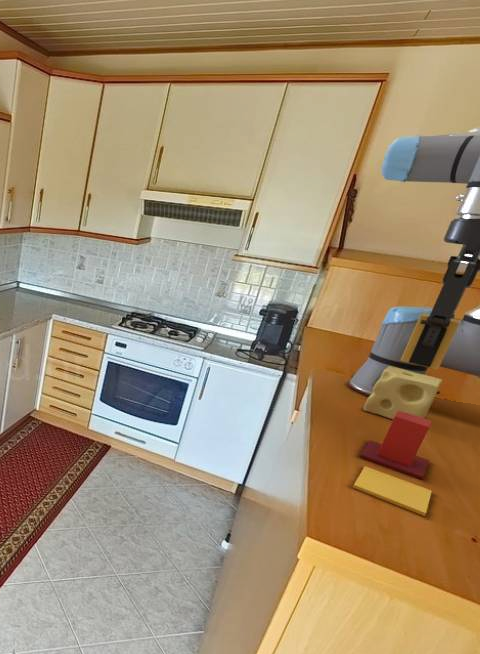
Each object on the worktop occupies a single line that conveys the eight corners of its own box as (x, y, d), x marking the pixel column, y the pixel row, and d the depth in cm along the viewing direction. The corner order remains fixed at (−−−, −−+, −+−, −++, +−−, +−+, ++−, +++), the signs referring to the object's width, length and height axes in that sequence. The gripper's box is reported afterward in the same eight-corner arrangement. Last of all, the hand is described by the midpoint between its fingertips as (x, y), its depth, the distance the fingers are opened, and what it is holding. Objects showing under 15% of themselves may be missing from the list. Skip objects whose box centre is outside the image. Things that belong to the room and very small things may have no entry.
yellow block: (404, 356, 86) (423, 312, 83) (439, 365, 83) (461, 319, 80) (400, 360, 83) (420, 315, 80) (437, 369, 80) (459, 322, 77)
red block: (381, 447, 93) (398, 410, 91) (413, 458, 90) (431, 420, 88) (377, 455, 90) (394, 416, 87) (410, 466, 87) (429, 426, 84)
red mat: (368, 442, 97) (369, 439, 97) (427, 462, 91) (429, 459, 91) (359, 457, 90) (360, 454, 90) (422, 479, 84) (423, 477, 84)
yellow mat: (363, 468, 86) (365, 465, 86) (430, 493, 80) (432, 490, 80) (352, 487, 79) (354, 484, 79) (424, 516, 73) (426, 513, 73)
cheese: (362, 410, 113) (378, 370, 110) (372, 401, 120) (389, 363, 117) (419, 429, 106) (439, 387, 103) (427, 418, 113) (446, 378, 110)
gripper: (456, 219, 83) (400, 348, 91) (449, 213, 71) (385, 362, 79) (519, 225, 78) (453, 361, 86) (522, 219, 66) (446, 378, 74)
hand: (421, 361), depth 83 cm, fingers closed on yellow block, 5 cm apart
